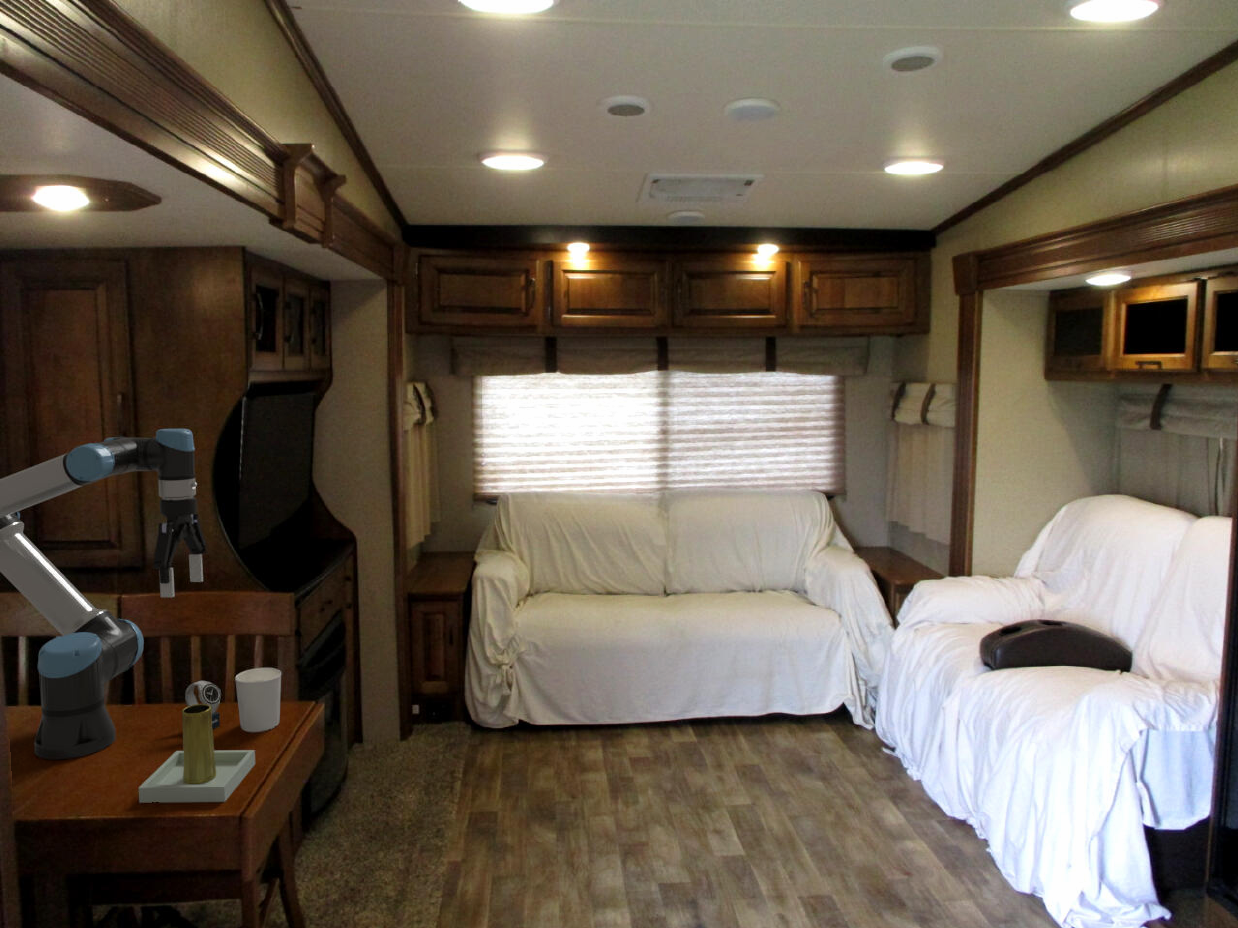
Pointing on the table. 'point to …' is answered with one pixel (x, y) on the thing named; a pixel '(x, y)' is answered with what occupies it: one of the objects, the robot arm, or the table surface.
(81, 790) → the table surface
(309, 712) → the table surface
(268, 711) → the candle holder
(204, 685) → the watch
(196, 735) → the vase
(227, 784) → the tray
